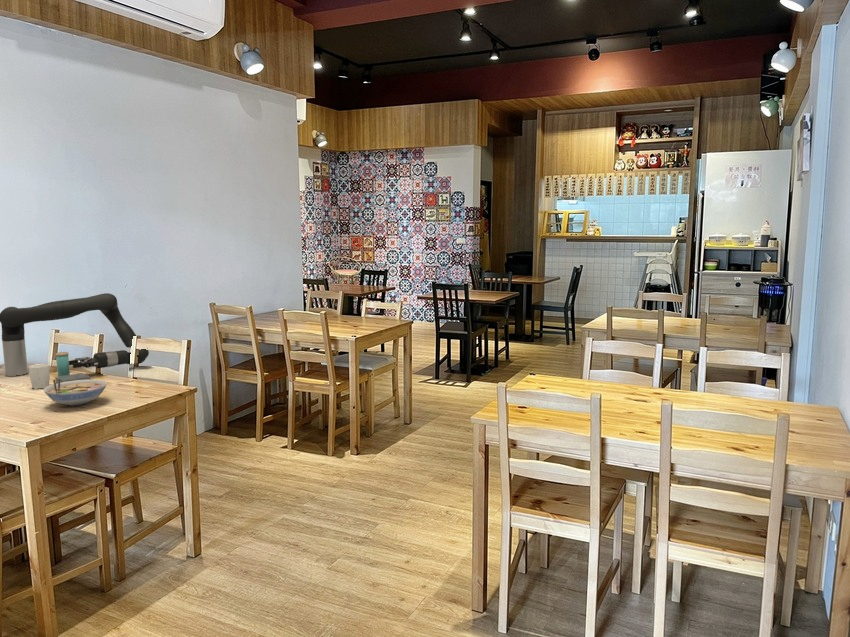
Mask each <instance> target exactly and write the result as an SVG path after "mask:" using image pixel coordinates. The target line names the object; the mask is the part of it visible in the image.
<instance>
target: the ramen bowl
mask: <svg viewBox="0 0 850 637" xmlns="http://www.w3.org/2000/svg"><path fill="white" fill-rule="evenodd" d="M49 385H50V384H49ZM107 385H108V382H107V381H106V380H102V379H90V380H75V381H68V382H62V383H60V379H59V380H58V383H57V384H56V381H55V379H53V384H51V385H50V386H48V387H46V388H43V389H42V391H43V392H44V394H45V395H46V396H48V398H50V399H51V400H52V401H53V402H55V403H58V404H61V405H66V406H68V405H69V407H75V406H74V405H78V406H83V405H86V404H87V403H90V402H91V401H93V400H95V399H98V398H99V397H100V395H102V393H103V391H104V390H105V389H106V387H107ZM82 404H83V405H82Z"/></svg>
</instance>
